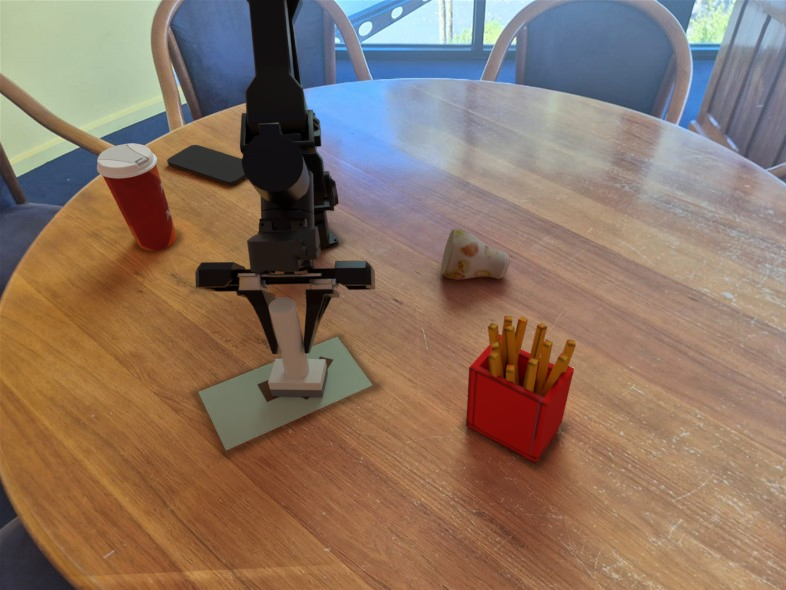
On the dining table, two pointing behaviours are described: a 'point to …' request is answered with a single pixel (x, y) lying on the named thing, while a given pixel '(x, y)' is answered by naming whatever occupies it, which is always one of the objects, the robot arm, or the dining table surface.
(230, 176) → the phone
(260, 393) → the mat
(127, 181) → the paper cup
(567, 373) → the french fries container
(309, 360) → the white peg on base
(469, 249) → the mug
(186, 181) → the dining table surface
